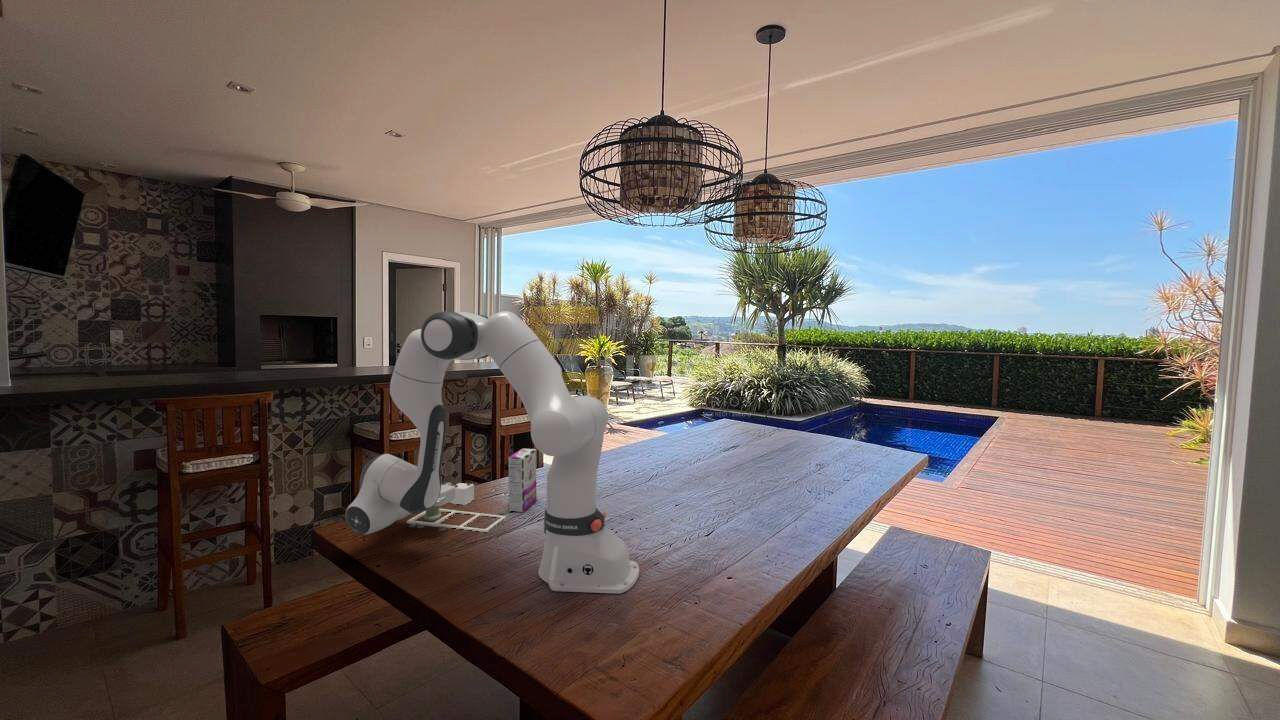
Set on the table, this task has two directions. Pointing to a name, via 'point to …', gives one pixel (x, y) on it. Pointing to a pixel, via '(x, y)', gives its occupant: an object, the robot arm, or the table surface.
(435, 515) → the pawn
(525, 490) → the candy bar box
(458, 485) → the die
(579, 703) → the table surface
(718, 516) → the table surface
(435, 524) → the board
